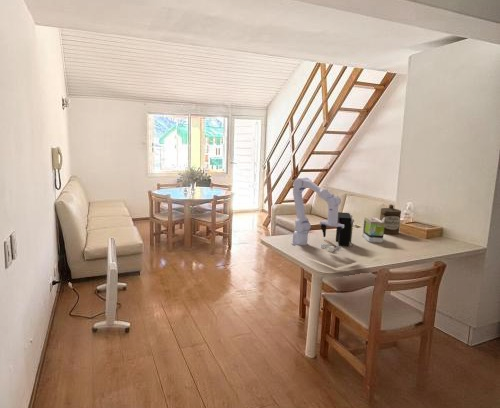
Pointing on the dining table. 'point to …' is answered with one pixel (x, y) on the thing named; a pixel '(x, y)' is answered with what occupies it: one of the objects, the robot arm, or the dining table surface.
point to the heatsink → (331, 245)
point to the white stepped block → (331, 248)
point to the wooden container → (391, 220)
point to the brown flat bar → (330, 243)
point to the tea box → (373, 229)
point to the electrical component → (345, 229)
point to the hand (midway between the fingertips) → (330, 237)
